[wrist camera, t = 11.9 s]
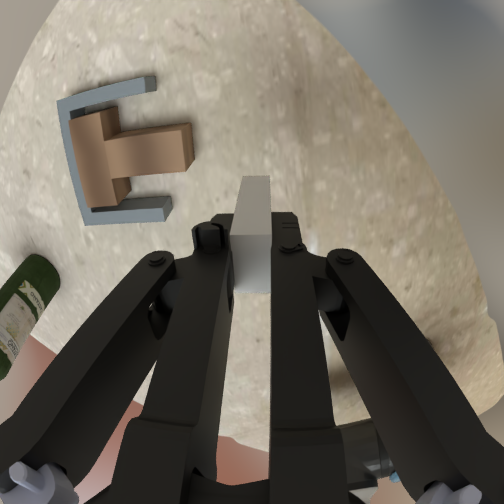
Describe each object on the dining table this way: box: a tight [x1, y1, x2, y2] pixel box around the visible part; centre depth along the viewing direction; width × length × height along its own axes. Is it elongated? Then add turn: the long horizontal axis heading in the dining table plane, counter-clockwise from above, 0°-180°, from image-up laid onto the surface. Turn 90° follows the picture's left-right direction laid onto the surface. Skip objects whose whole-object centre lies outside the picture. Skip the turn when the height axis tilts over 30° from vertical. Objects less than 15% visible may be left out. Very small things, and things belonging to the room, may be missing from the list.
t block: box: [68, 107, 195, 208], centre depth 27 cm, size 12×10×4 cm
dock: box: [57, 76, 172, 226], centre depth 27 cm, size 11×15×3 cm
